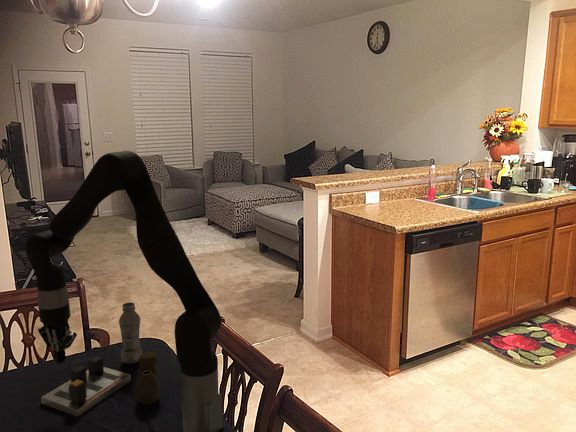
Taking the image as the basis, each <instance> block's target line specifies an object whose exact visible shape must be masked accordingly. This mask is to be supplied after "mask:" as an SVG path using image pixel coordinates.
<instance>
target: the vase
mask: <svg viewBox="0 0 576 432" xmlns="http://www.w3.org/2000/svg"><path fill="white" fill-rule="evenodd" d="M135 383H136V384H135V387H134V392H135V393H134V394H135V398H136V400H137V401H138V402H139V403H140V404H142V405H151V404H154V403H156V402H157V400H158V398H159V397H160V394H161V383H160V380H159V378H158V379H157V378H156V377H155V376H154V375H153V374H152V372H151V371H144V372H143V373H142V376H141V377H140V376H139V378H138V380H137V381H136V382H135Z"/></svg>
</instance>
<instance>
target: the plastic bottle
mask: <svg viewBox="0 0 576 432" xmlns="http://www.w3.org/2000/svg"><path fill="white" fill-rule="evenodd" d="M121 307H122V314H121V315H120V317H119V320H118V325H119V329H120V335H121V351H120V359H121V360H120V361H121V362H122V363H123V364H125V365H134V364H136V363H137V364H138V363H139V357H140V355H142V354H143V349H142V347H141V342H140V341H141V340H140V325H141V317H140V315H139V314H138V312H136V306H135V303H134V302H125V303H123V304H122V306H121Z"/></svg>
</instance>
